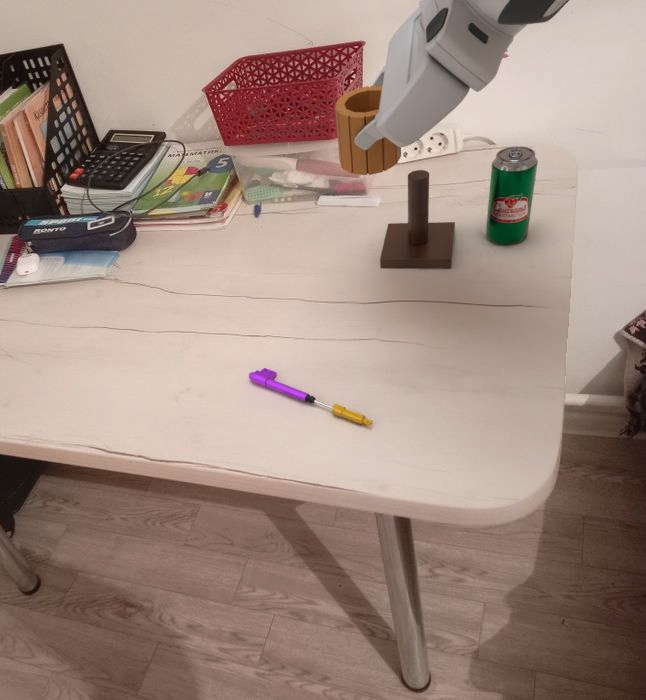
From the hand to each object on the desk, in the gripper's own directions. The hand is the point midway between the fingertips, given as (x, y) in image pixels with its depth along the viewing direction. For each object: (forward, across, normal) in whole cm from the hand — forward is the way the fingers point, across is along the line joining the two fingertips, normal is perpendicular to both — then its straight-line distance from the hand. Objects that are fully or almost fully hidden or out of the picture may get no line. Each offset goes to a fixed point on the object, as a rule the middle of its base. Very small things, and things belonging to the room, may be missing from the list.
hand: (362, 123), depth 68 cm
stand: (+13, -7, +21) cm, 25 cm away
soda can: (+5, -10, +29) cm, 31 cm away
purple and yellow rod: (+19, +22, +12) cm, 31 cm away
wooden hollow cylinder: (+3, 0, +4) cm, 4 cm away
